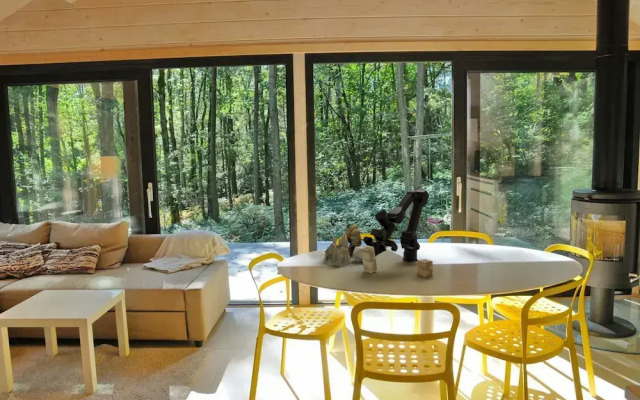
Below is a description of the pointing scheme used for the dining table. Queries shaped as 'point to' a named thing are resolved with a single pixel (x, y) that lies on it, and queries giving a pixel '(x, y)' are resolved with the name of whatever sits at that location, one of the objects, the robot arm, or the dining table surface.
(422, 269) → the oak block
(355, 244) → the brown lumpy rock
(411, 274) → the dining table surface
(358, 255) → the die
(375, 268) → the cream two-panel pillar
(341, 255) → the jagged grey rock
